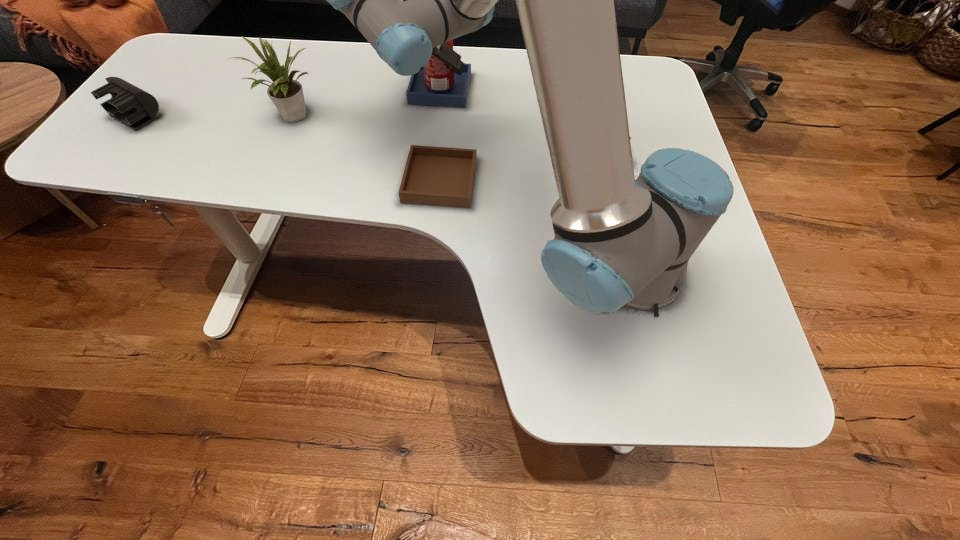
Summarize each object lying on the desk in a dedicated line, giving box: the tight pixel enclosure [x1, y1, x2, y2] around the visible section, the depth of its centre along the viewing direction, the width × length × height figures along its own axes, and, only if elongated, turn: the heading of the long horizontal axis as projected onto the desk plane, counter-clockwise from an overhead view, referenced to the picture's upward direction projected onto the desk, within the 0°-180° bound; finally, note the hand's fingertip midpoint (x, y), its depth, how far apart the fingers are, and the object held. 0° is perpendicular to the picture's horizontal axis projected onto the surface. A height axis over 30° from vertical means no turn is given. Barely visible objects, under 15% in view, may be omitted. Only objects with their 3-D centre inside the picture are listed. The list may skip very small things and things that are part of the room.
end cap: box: [90, 76, 160, 132], centre depth 92 cm, size 10×7×7 cm
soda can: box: [424, 39, 454, 92], centre depth 96 cm, size 7×7×12 cm
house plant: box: [227, 36, 310, 123], centre depth 89 cm, size 14×14×16 cm
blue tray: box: [405, 63, 472, 109], centre depth 101 cm, size 13×13×3 cm
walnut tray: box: [397, 144, 477, 209], centre depth 84 cm, size 13×13×3 cm
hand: (448, 64), depth 100 cm, fingers closed on soda can, 7 cm apart
